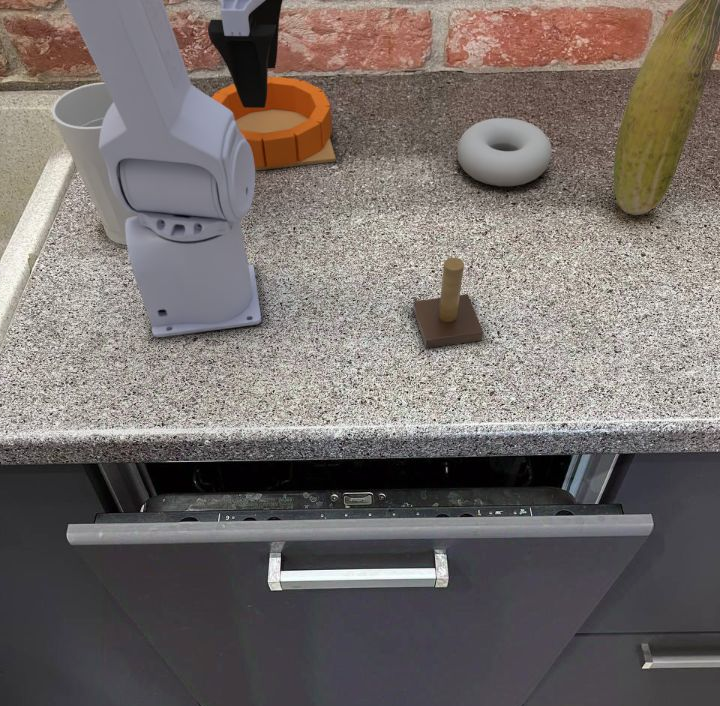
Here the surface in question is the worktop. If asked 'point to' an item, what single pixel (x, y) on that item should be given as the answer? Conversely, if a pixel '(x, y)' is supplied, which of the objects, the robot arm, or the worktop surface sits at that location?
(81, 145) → the cup
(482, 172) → the donut
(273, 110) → the mat
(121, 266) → the worktop surface
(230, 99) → the ring
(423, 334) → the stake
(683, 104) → the vegetable
